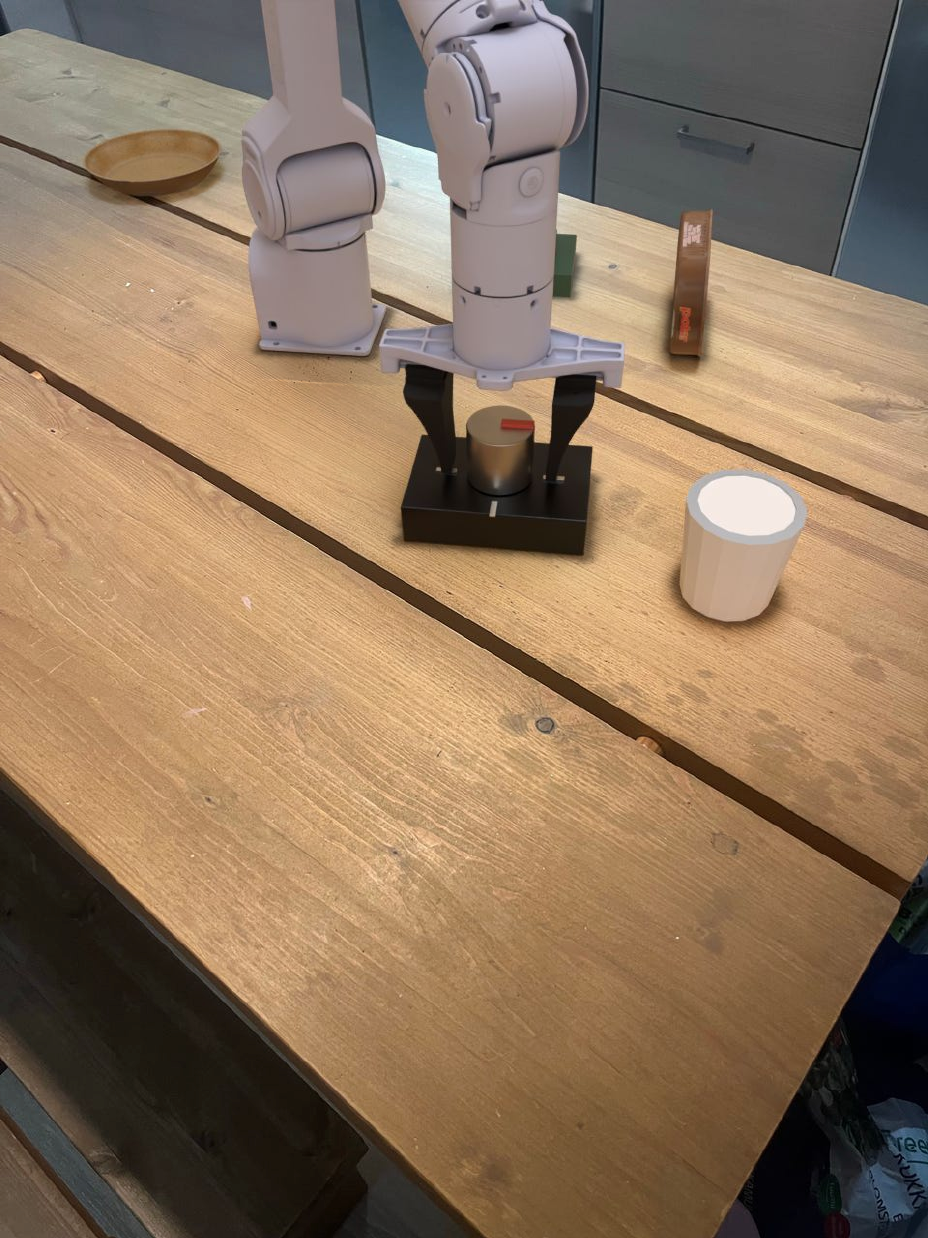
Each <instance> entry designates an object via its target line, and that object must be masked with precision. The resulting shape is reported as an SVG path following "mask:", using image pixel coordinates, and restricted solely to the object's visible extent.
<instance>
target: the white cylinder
mask: <svg viewBox="0 0 928 1238" xmlns="http://www.w3.org/2000/svg"><path fill="white" fill-rule="evenodd" d="M807 515H808V509H807V507H806V504H805V502H804V500H803V497H802V495H800V494H799V492H798V491H796V490H795V489H794V488H793V487H792V486H791V485H790V484H789V483H787V482H786V481H784V480H782V479H779V478H777V477H775V476H774V475H773V476H772V475H770V474H768V473H767V472H761V471H757V470H751V469H747V468H735V469H734V468H733V469H730V468H729V469H720V470H717V471H714V472H710V473H708V474H704V475H703V476H701V477H700V478H699V479H698V480H696V481H695V482H694V483H693V484H691V485H690V486H689V490H688V492H687V495H686V499H685V509H684V521H683V535H682V546H681V547H682V548H681V560H680V572H679V588H680V592H681V595H682V599H684V600H685V601H686V603H687V604H688V605H689V606H690V608H691V609H693V610H695V611H696V612H698V613H699V614H702V615H703V616H705V617H707V618H709V619H714V620H718V621H722V622H744V621H747V620H750V619H752V618H755V617H758V616H759V615H761V614H762V613H763V612H764V610H766V608H768V606H769V604H770V602H771V601H772V600H771V599H772V597H773V595H774V593H775V592H776V589H777V587H778V585H779V582H780V580H781V579H782V576H783V573H784V571H785V569H786V567H787V565H788V563H789V561H790V558H791V556H792V555H793V551H794V549H795V547H796V545H797V543H798V541H799V538H800V536H801V534H802V532H803V530H804V528H805V525H806V519H807Z"/></svg>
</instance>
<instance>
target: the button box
mask: <svg viewBox="0 0 928 1238" xmlns="http://www.w3.org/2000/svg"><path fill="white" fill-rule="evenodd" d="M577 240H578V235H577V234H572V233H570V234H568V233H558V229H557V228H556V242H555V260H554V276H553V295H552V297H557V298H559V297H560V298H571V295H572V287H573V279H574V271H575V263H576V256H577V255H576V254H577Z"/></svg>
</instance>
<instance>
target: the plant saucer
mask: <svg viewBox="0 0 928 1238" xmlns="http://www.w3.org/2000/svg"><path fill="white" fill-rule="evenodd" d="M221 153H222V145H221V143H220V142H219V140H217V139H216V138H215V137H213V136H212V135H209V134H206V133H204V132H201V131H194V130H189V129H181V128H180V129H178V128H161V129H148V130H141V131H140V130H139V131H134V132H130V133H126V134H122V135H118V136H114V137H112V138H109V139H106V140H104V141H102V142H100V143H98V144H97V145H95V146H93V147H92V148H91V149H90V150H89V151H87V152H86V153H85V155H84V157H83V160H82V165H83V167H84V169H85V170H86V171H87V172H88V173H90V175H92V176H93V178H95V179H96V180H98V181H99V182H100V183H102V184H104V185H105V186H107V187H108V188H109V189H111V190H113V191H115V192H117V193H119V194H120V193H121V194H123V195H126V196H127V195H128V196H134V197H160V196H168V195H173V194H176V193H180V192H184V191H187V190H189V189H191V188H193V187H196V186H197V185H199V184H200V183H201V182H203V181H204V180H205V179H206V178H207V176H208V175H209V174H210V173H211V172H212V170H213V169H214V167H215V165H216V164H217V162H218V161H219V158H220V155H221Z"/></svg>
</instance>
